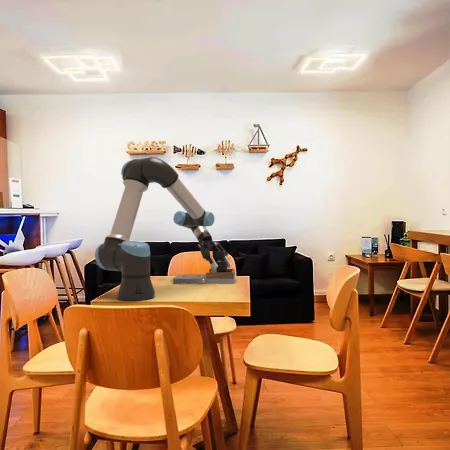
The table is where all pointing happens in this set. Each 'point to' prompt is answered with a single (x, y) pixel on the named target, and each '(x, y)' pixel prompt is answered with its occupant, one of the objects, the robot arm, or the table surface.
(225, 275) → the holder
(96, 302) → the table surface
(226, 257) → the robot arm
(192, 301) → the table surface
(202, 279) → the hinge
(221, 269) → the ink bottle
